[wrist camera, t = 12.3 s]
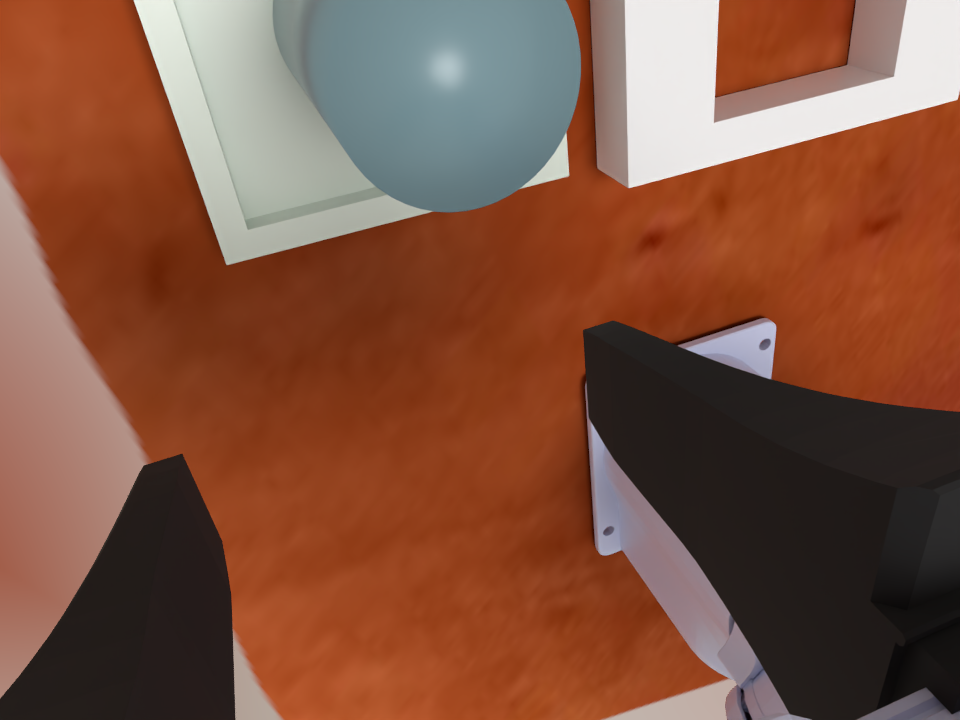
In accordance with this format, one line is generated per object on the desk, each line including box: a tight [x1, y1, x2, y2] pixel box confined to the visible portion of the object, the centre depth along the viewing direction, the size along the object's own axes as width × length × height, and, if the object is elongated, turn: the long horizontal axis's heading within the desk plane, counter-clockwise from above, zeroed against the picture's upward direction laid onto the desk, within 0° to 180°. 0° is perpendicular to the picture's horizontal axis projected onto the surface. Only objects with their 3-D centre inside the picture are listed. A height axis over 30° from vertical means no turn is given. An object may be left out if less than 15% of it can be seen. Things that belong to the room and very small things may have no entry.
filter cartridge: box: [272, 0, 581, 212], centre depth 16 cm, size 4×4×8 cm
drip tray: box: [134, 0, 569, 265], centre depth 19 cm, size 10×10×1 cm
